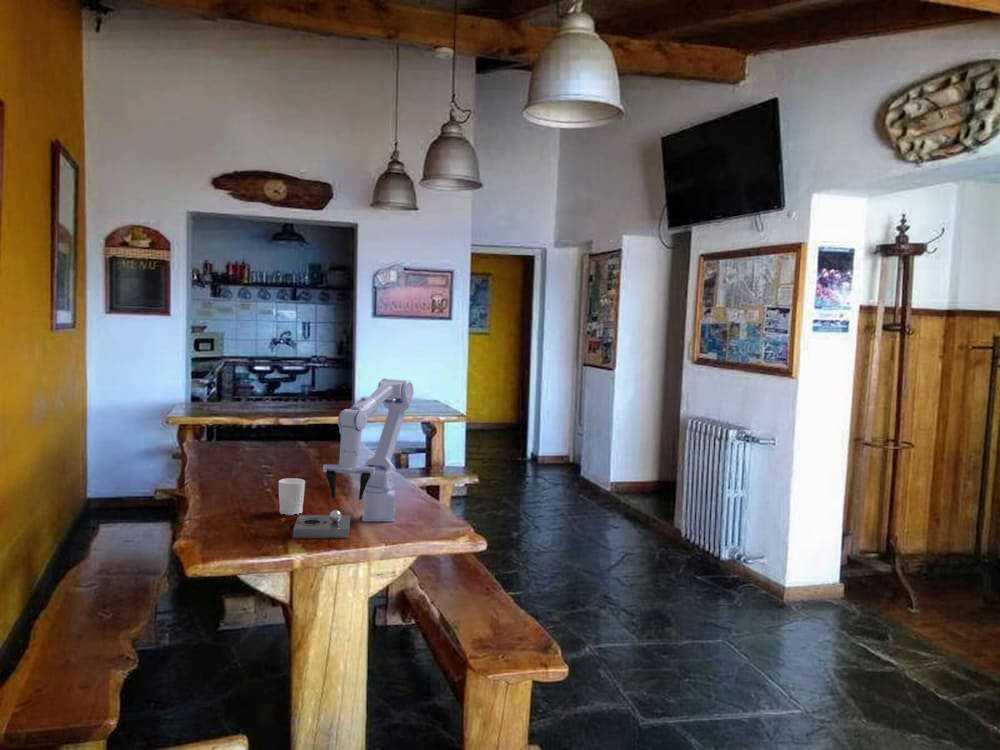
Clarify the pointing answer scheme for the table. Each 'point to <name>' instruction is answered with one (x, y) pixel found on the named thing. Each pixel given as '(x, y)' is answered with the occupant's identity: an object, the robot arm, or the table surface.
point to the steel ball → (335, 516)
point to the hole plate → (321, 527)
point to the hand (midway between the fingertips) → (347, 498)
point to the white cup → (291, 495)
